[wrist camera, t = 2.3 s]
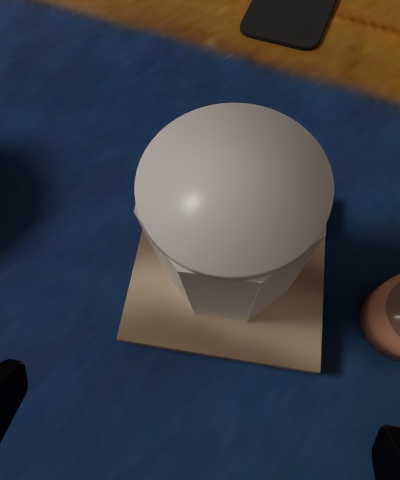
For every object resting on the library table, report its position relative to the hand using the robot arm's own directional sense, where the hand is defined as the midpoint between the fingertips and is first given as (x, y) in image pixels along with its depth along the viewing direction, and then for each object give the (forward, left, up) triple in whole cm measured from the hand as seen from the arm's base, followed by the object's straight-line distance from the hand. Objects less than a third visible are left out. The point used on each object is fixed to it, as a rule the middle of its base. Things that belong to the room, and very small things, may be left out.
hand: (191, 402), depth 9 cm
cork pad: (+8, -3, -14) cm, 16 cm away
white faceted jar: (+8, -3, -12) cm, 15 cm away
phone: (+34, -15, -14) cm, 39 cm away
